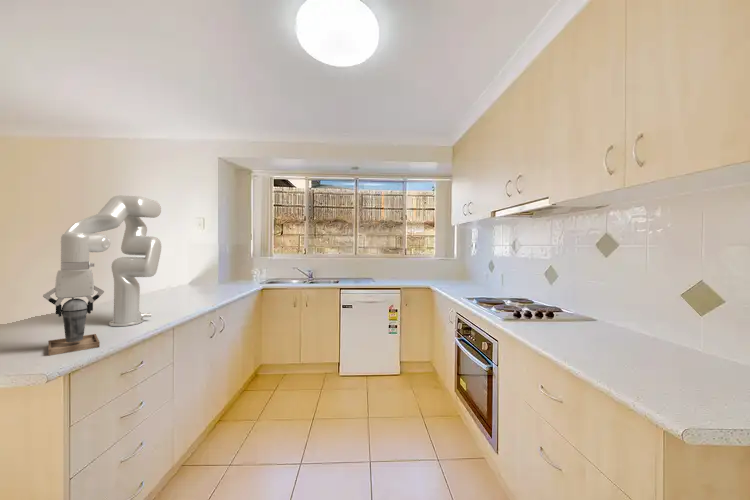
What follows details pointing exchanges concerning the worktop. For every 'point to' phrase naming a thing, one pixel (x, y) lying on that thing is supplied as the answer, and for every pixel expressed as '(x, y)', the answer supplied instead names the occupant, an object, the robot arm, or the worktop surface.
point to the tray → (72, 345)
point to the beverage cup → (74, 319)
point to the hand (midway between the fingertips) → (74, 314)
